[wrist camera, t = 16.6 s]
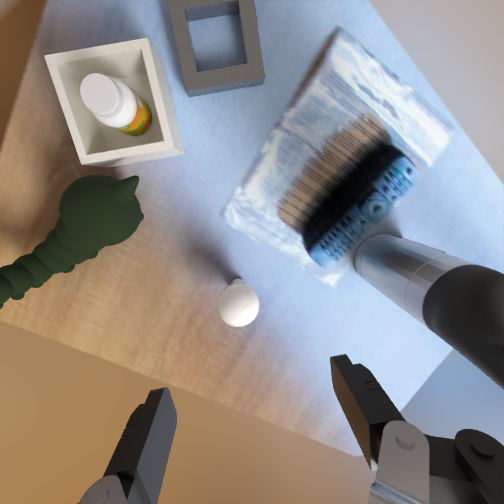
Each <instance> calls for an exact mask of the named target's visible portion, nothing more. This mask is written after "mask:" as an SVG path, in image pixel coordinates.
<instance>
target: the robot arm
mask: <svg viewBox="0 0 504 504" xmlns="http://www.w3.org/2000/svg"><path fill="white" fill-rule="evenodd" d="M355 268H356V271H357V273H358V274H359V275H360V276H361V277H362V278H363V279H364V280H366V281H367V282H368V283H370V284H371V285H372V286H373V287H375V288H376V289H377V290H379V291H380V292H381V293H382V294H384V295H385V296H386V297H388V298H389V299H390V300H392V301H393V302H394V303H396V304H397V305H398V306H399V307H401V308H402V309H403V310H405V311H406V312H407V313H409V314H410V315H411V316H413V317H414V318H415V319H417V320H418V321H419V322H421V323H422V324H423V325H424V326H426V327H427V328H428V329H430V330H431V331H432V332H434V333H435V334H436V335H438V336H439V337H440V338H442V339H443V340H444V341H445V342H447V343H448V344H449V345H450V346H452V347H453V348H454V349H456V350H457V351H458V352H459V353H461V354H462V355H463V356H464V357H466V358H467V359H468V360H469V361H471V362H472V363H473V364H474V365H475V366H477V367H478V368H479V369H480V370H481V371H483V372H484V373H485V374H486V375H487V376H489V377H490V378H491V379H492V380H493V381H494V382H496V383H497V384H498V385H499V386H500V387H501V388H503V389H504V274H502V273H500V272H498V271H495V270H492V269H489V268H486V267H483V266H480V265H477V264H474V263H471V262H469V261H466V260H463V259H460V258H456V257H454V256H451V255H448V254H446V253H445V252H444V251H441V250H438V249H435V248H432V247H429V246H426V245H423V244H420V243H417V242H414V241H411V240H408V239H405V238H399V237H396V236H393V235H389V234H377V235H374V236H371V237H370V238H368V239H366V240H365V241H364V242H363V243H362V244H361V245H360V247H359V248H358V250H357V252H356V256H355ZM330 364H331V374H332V383H333V387H334V391H335V394H336V396H337V399H338V401H339V403H340V405H341V407H342V409H343V411H344V414H345V416H346V418H347V420H348V422H349V424H350V426H351V429H352V431H353V433H354V435H355V437H356V439H357V441H358V444H359V446H360V448H361V450H362V452H363V454H364V456H365V458H366V461H367V463H368V465H369V467H370V469H371V471H376V470H377V472H376V478H375V482H374V484H372V486H371V490H370V496H369V501H368V504H504V446H503V445H502V444H501V443H500V442H498V441H497V440H496V439H494V438H493V437H491V436H489V435H487V434H485V433H483V432H481V431H478V430H473V429H463V430H460V431H459V432H458V433H457V434H456V436H455V439H448V438H441V437H434V436H429V435H426V434H423V433H422V432H421V431H420V430H419V429H418V428H417V427H415V426H414V425H412V424H410V423H408V422H406V421H405V419H404V418H403V417H402V415H401V414H400V412H399V411H398V409H397V408H396V407H395V405H394V404H393V402H392V401H391V400H390V398H389V397H388V395H387V394H386V393H385V391H384V390H383V389H382V387H381V385H380V384H379V383H378V382H377V380H376V378H375V377H374V376H373V374H372V373H371V371H370V370H369V369H367V368H366V367H364V366H363V365H362V364H360V363H359V364H354V365H353V364H352V362H351V361H350V359H349V358H348V356H347V355H346V354H343V355H338V356H333V357H330ZM176 424H177V415H176V410H175V407H174V403H173V400H172V398H171V394H170V391H169V389H168V388H167V387H166V388H160V389H155V390H151V391H150V392H149V394H148V397H147V399H146V402H145V404H140V405H139V406H138V407H137V408H136V410H135V411H134V412H133V413H132V414H131V416H130V418H129V420H128V423H127V425H126V429H124V431H123V434H122V436H121V439H120V440H119V442H118V445H117V447H116V449H115V451H114V454H113V456H112V458H111V460H110V462H109V465H108V467H107V469H106V471H105V473H104V475H103V477H102V478H101V479H99V480H98V481H96V482H95V483H94V484H93V485H92V486H91V487H90V488H89V489H88V490H87V491H86V492H85V494H84V495H83V496H82V498H81V500H80V502H79V503H78V504H157V502H158V498H159V494H160V490H161V486H162V482H163V478H164V474H165V469H166V465H167V461H168V457H169V453H170V449H171V445H172V441H173V437H174V433H175V429H176Z"/></svg>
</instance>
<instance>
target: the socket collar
mask: <svg viewBox="0 0 504 504" xmlns="http://www.w3.org/2000/svg"><path fill="white" fill-rule="evenodd" d="M166 1H167V6H168V11H169V15H170V20H171V24H172V29H173V34H174V38H175V43H176V48H177V52H178V57H179V61H180V66H181V71H182V75H183V80H184V84H185V89H186V92H187V94H188V96H189V97H193V96H199V95H205V94H210V93H216V92H222V91H227V90H233V89H239V88H244V87H250V86H256V85H261V84H263V82H264V78H265V76H264V69H263V62H262V54H261V47H260V40H259V33H258V25H257V18H256V11H255V4H254V0H166ZM234 13H238V15H239V22H240V28H241V35H242V41H243V48H244V54H245V61H246V64H240V65H235V66H229V67H223V68H218V69H212V70H206V71H200V72H198V69H197V64H196V59H195V54H194V49H193V44H192V39H191V34H190V29H189V24H188V21H193V20H199V19H205V18H211V17H217V16H222V15H228V14H234Z"/></svg>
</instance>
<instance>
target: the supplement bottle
mask: <svg viewBox="0 0 504 504" xmlns="http://www.w3.org/2000/svg"><path fill="white" fill-rule="evenodd" d="M80 94H81V98H82V100H83V102H84V104H85V105H86V107H87V108H88V109H89V110H91V111H92V113H93V114H94V116H95V117H96V118H97V119H98V120H99V121H101V122H102V123H103V124H105V125H107V126H109V127H112V128H114V129H116V130H118V131H121V132H123V133H125V134H127V135H130V136H142V135H144V134H146V133H147V132H148V131H149V130H150V128H151V126H152V122H153V116H152V112H151V109H150V107H149V105H148V104H147V103H146V102H145V101H144V100H143V99H142V98H141V97H140V96H139V95H138V94H137V93H136V92H134V91H133V90H132V89H131V88H130V87H129V86H128V85H127V84H125V83H124V82H123V81H121V80H120V79H118V78H115V77H111V76H105V75H103V74H100V73H92V74H89V75H87V76H86V77H85V78H84V79H83V81H82V83H81V86H80Z"/></svg>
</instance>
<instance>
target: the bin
mask: <svg viewBox="0 0 504 504" xmlns="http://www.w3.org/2000/svg"><path fill="white" fill-rule="evenodd" d="M44 57H45V60H46V63H47V66H48V69H49V71H50V74H51V77H52V80H53V83H54V86H55V89H56V92H57V95H58V98H59V101H60V104H61V106H62V109H63V112H64V115H65V118H66V121H67V124H68V127H69V130H70V133H71V136H72V138H73V141H74V144H75V147H76V150H77V153H78V156H79V159H80V162H81V165H89V166H98V167H107V168H109V167H115V166H121V165H126V164H132V163H137V162H143V161H148V160H154V159H160V158H165V157H171V156H176V155H182V154H185V152H184V148H183V143H182V139H181V135H180V130H179V126H178V122H177V117H176V113H175V109H174V105H173V100H172V96H171V92H170V87H169V83H168V79H167V74H166V70H165V66H164V64H163V62H162V60H161V59H160V57H159V55H158V54H157V52H156V51H155V49H154V47H153V46H152V44H151V42H150V41H149V39H148V38H142V39H136V40H131V41H125V42H119V43H113V44H107V45H102V46H96V47H90V48H84V49H79V50H73V51H67V52H61V53H56V54H50V55H44ZM92 73H100V74H103V75H105V76H111V77H115V78H118V79H120V80H121V81H123V82H124V83H125V84H127V85H128V86H129V87H130V88H131V89H132V90H133V91H134V92H136V93H137V94H138V95H139V96H140V97H141V98H142V99H143V100H144V101H145V102H146V103H147V104H148V105H149V107H150V109H151V112H152V116H153V122H152V126H151V128H150V130H149V131H148V132H147V133H146V134H144V135H142V136H130V135H127V134H125V133H123V132H121V131H118V130H116V129H114V128H112V127H109V126H107V125H105V124H103V123H102V122H101V121H99V120H98V119H97V118H96V117H95V116H94V114H93V113H92V111H91V110H89V109H88V108H87V107H86V105H85V104H84V102H83V100H82V98H81V94H80V86H81V83H82V81H83V79H84V78H85V77H86V76H87V75H89V74H92Z"/></svg>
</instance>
